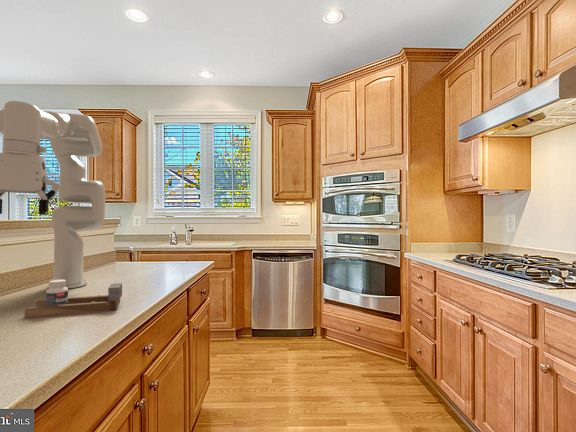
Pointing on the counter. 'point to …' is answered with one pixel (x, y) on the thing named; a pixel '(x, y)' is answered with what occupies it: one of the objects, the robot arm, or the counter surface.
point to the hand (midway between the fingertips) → (20, 214)
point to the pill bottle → (57, 293)
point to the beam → (79, 304)
